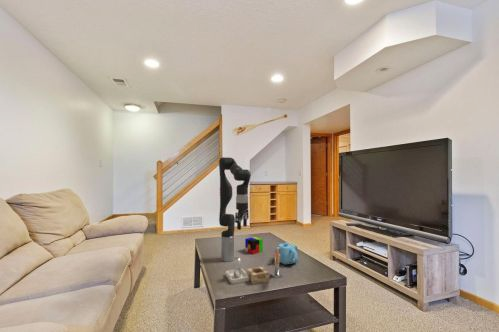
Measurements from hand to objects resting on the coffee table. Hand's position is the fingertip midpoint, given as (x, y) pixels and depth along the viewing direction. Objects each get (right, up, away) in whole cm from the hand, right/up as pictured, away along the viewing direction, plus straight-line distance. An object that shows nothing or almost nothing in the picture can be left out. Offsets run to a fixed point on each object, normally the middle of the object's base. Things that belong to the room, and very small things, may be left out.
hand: (242, 227), depth 142 cm
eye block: (+10, -30, -4) cm, 32 cm away
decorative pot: (+31, -31, +23) cm, 49 cm away
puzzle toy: (+8, -32, +45) cm, 55 cm away
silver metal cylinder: (-3, -29, -3) cm, 29 cm away
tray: (-3, -30, -3) cm, 30 cm away
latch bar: (+21, -18, -5) cm, 28 cm away
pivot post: (+22, -30, +1) cm, 37 cm away
